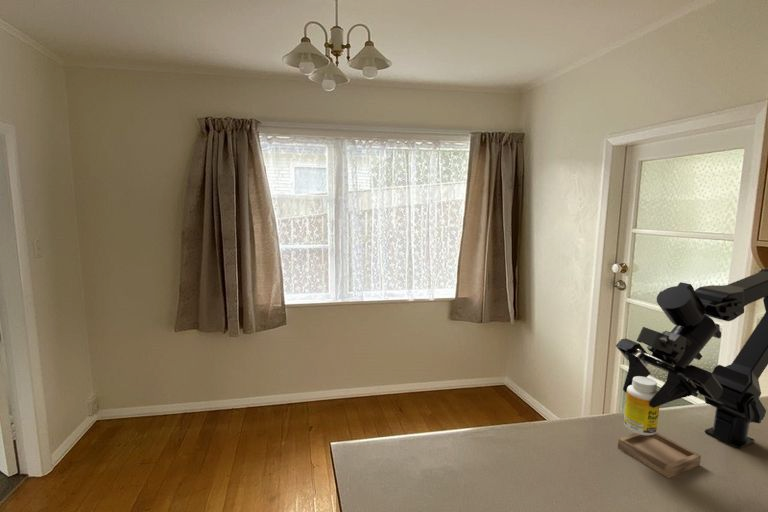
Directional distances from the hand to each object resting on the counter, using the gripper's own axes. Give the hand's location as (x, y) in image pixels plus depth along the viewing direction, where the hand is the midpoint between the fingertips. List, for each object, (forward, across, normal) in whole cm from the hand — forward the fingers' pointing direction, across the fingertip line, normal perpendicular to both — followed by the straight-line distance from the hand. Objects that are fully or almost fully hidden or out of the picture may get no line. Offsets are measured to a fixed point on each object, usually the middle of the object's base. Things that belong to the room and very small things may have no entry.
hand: (637, 398), depth 77 cm
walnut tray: (+5, +1, +13) cm, 14 cm away
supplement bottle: (+4, 0, +6) cm, 7 cm away
